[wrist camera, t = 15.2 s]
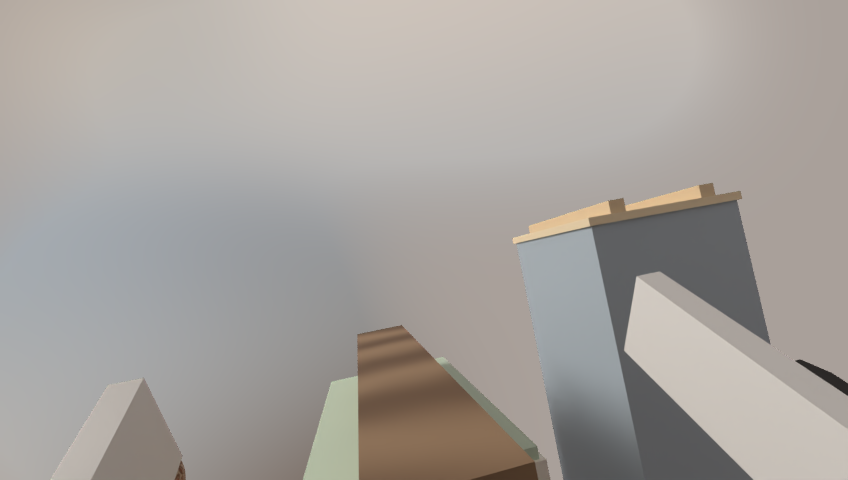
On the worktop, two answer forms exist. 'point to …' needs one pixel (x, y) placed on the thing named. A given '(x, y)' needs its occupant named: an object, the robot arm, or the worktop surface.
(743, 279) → the pillar
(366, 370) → the walnut block
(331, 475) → the felt block
